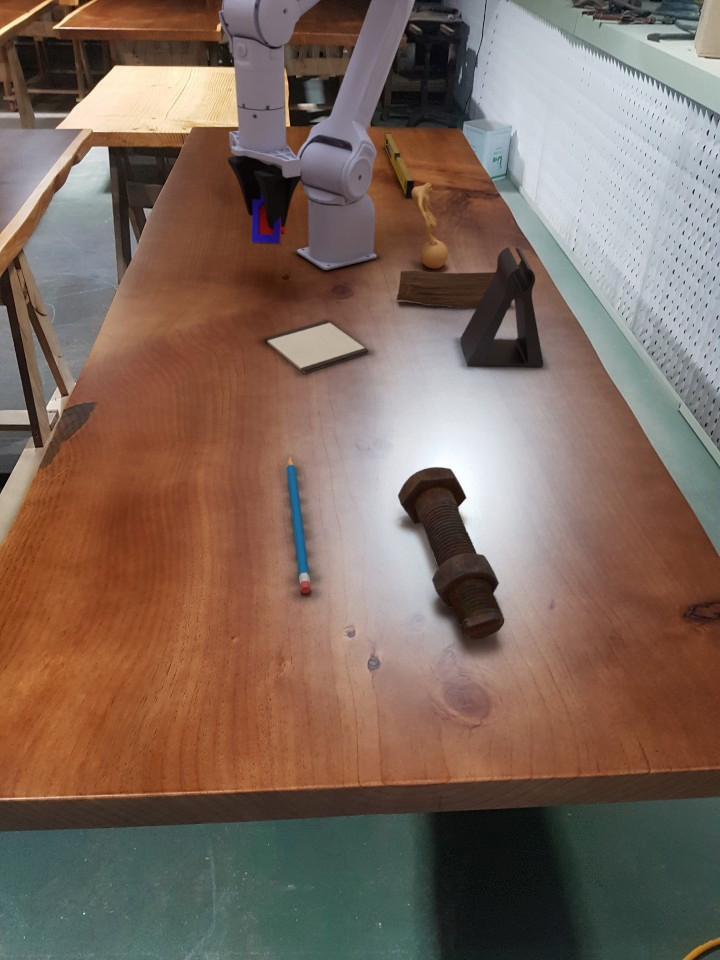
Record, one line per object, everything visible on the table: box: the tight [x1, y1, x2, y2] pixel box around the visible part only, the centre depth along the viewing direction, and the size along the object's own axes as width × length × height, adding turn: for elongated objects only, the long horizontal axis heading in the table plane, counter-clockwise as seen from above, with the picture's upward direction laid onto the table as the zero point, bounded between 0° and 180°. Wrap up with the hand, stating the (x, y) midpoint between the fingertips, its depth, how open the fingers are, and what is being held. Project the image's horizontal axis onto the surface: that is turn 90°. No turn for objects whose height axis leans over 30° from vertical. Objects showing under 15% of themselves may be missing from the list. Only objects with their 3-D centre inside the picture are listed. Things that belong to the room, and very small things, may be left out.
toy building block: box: [251, 192, 286, 245], centre depth 92 cm, size 4×4×8 cm
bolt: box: [397, 466, 506, 640], centre depth 56 cm, size 6×5×15 cm
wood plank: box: [396, 270, 512, 308], centre depth 94 cm, size 15×2×5 cm, turn 93°
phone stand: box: [459, 246, 544, 368], centre depth 82 cm, size 9×6×12 cm, turn 92°
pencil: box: [286, 456, 312, 594], centre depth 61 cm, size 1×17×1 cm, turn 8°
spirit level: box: [383, 132, 415, 199], centre depth 142 cm, size 33×1×3 cm, turn 5°
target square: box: [264, 320, 369, 374], centre depth 85 cm, size 9×9×1 cm
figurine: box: [411, 181, 449, 269], centre depth 102 cm, size 8×6×12 cm
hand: (266, 220), depth 93 cm, fingers closed on toy building block, 5 cm apart
